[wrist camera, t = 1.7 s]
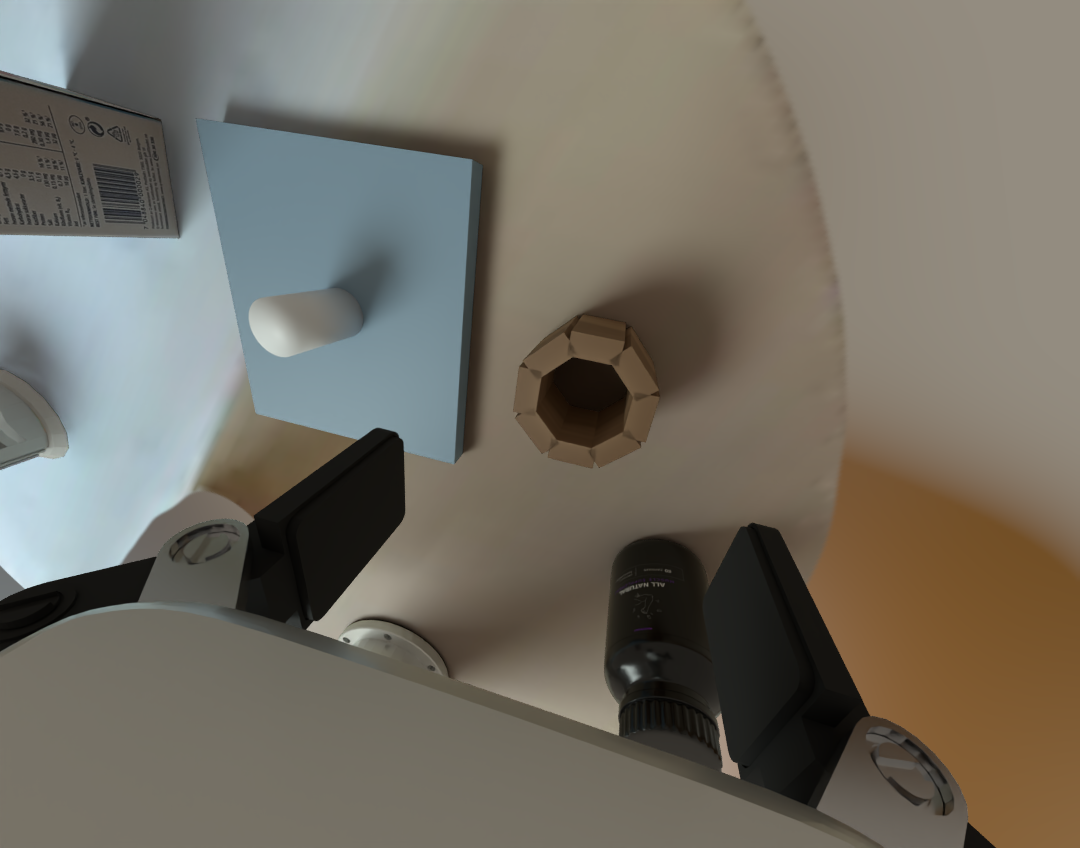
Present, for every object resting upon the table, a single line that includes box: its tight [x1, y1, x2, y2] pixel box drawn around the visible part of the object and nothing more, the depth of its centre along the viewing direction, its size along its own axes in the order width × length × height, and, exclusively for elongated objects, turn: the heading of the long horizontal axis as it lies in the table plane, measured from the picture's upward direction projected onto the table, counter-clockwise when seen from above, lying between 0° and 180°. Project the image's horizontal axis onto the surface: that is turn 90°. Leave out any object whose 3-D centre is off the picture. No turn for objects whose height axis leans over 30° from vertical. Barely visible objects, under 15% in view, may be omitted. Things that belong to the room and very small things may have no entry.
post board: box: [196, 118, 483, 464], centre depth 22 cm, size 18×16×6 cm
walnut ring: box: [513, 314, 660, 468], centre depth 21 cm, size 7×7×5 cm
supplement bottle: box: [604, 539, 722, 772], centre depth 23 cm, size 7×7×12 cm
